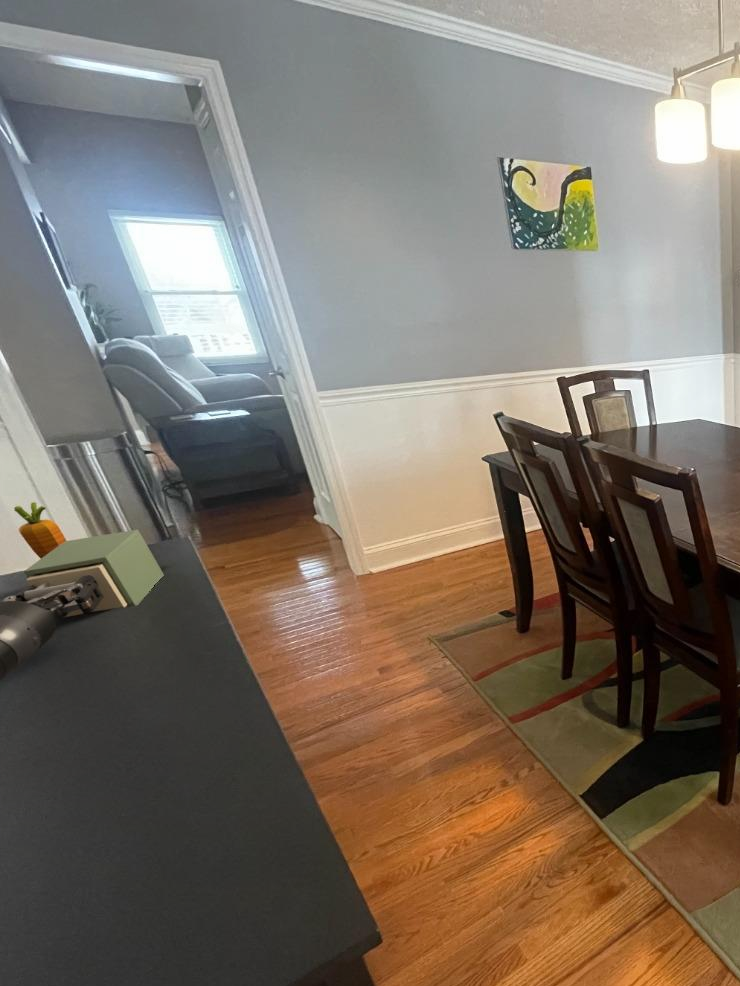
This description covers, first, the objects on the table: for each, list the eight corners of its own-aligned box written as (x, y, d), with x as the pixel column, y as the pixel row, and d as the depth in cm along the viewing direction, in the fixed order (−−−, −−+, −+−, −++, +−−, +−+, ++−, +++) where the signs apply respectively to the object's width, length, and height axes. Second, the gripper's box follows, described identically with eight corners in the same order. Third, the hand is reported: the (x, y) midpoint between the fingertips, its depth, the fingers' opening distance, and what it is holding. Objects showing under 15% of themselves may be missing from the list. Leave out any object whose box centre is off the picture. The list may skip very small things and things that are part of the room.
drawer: (111, 622, 96) (84, 579, 92) (38, 637, 92) (6, 594, 89) (152, 578, 109) (129, 540, 105) (89, 590, 106) (63, 551, 102)
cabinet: (136, 606, 102) (105, 557, 97) (58, 622, 98) (22, 571, 94) (164, 575, 112) (138, 529, 107) (95, 588, 108) (64, 541, 104)
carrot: (76, 570, 116) (29, 498, 109) (95, 571, 115) (49, 499, 108) (44, 582, 111) (-7, 508, 104) (64, 584, 110) (14, 509, 103)
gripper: (52, 602, 81) (109, 554, 95) (-96, 631, 76) (-14, 575, 90) (83, 647, 85) (133, 594, 98) (-57, 677, 80) (17, 617, 93)
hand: (63, 585), depth 94 cm, fingers closed on drawer, 6 cm apart
